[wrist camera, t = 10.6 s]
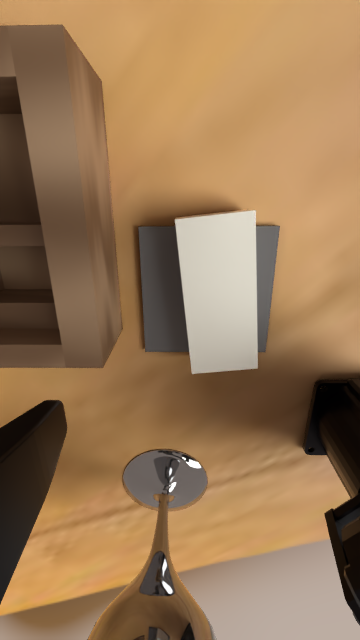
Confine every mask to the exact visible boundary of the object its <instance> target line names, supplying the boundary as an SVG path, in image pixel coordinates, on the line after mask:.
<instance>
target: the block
mask: <svg viewBox="0 0 360 640" xmlns="http://www.w3.org/2000/svg"><path fill="white" fill-rule="evenodd" d="M175 225H176V234H177V244H178V253H179V262H180V271H181V280H182V289H183V298H184V307H185V316H186V325H187V334H188V343H189V353H190V362H191V371H192V374H198V373H210V372H221V371H233V370H245V369H257V368H258V340H257V270H256V210H249V209H246V210H238V211H229V212H220V213H212V214H203V215H194V216H186V217H177V218H175Z"/></svg>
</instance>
